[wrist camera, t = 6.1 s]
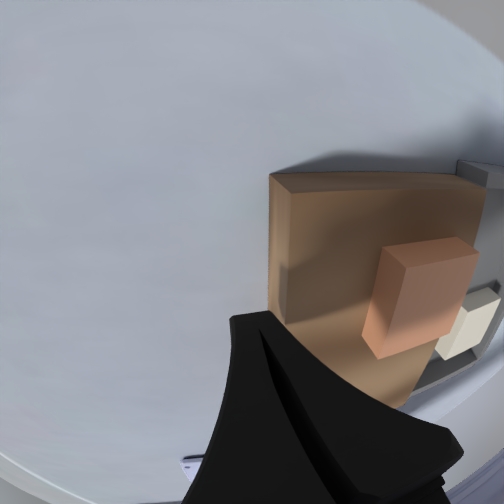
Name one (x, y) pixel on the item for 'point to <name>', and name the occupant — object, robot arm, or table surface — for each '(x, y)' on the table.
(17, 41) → the table surface
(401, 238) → the plate
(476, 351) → the box
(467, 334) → the tile cream
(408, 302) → the tile terracotta
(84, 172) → the table surface
